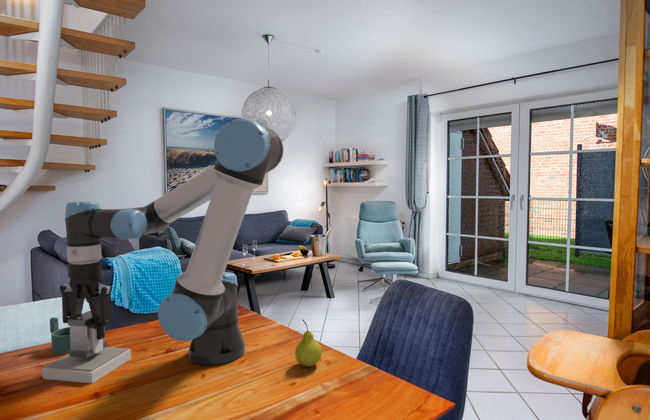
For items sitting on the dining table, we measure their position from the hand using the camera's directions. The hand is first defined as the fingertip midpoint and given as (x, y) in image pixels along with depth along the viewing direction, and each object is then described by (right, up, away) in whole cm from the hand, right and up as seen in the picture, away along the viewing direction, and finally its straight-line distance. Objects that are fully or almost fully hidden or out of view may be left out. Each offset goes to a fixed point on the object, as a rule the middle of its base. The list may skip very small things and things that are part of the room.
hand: (88, 350), depth 103 cm
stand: (0, -5, 0) cm, 5 cm away
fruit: (+57, -4, +1) cm, 57 cm away
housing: (0, 0, 0) cm, 0 cm away
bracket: (-14, -4, +14) cm, 20 cm away
